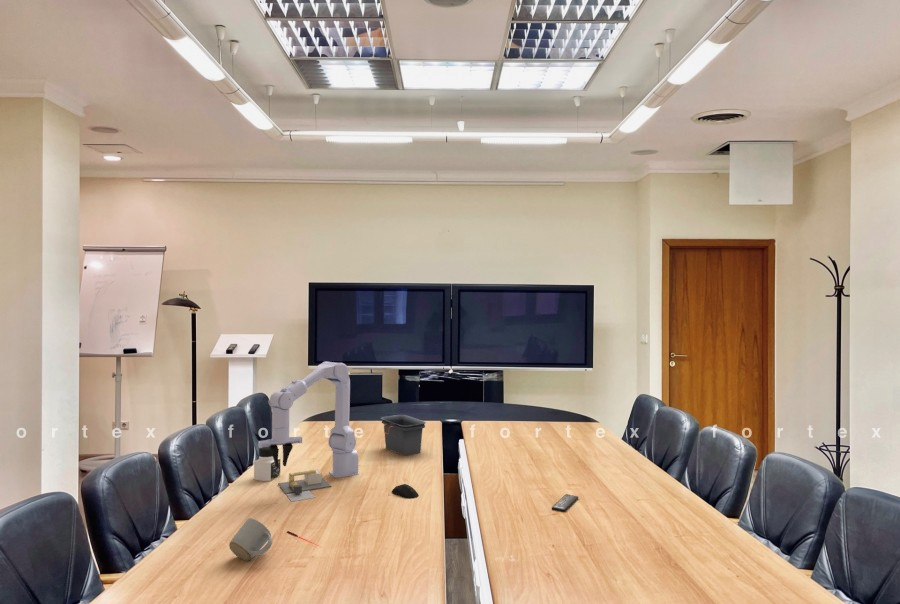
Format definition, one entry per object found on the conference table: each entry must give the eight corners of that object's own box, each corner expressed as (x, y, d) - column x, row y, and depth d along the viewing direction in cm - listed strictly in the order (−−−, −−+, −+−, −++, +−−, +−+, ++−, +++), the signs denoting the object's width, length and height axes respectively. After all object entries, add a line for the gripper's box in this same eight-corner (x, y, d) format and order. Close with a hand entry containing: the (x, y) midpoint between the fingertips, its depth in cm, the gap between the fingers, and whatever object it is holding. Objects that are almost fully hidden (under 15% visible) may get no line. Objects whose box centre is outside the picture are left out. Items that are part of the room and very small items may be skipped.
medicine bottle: (271, 481, 210) (271, 449, 210) (253, 480, 211) (253, 448, 211) (280, 476, 217) (280, 444, 217) (263, 474, 218) (263, 443, 218)
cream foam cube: (317, 479, 211) (317, 469, 211) (321, 482, 206) (321, 473, 206) (304, 481, 208) (304, 471, 208) (307, 484, 204) (308, 475, 204)
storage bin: (429, 454, 249) (429, 421, 249) (399, 460, 239) (399, 426, 239) (402, 444, 266) (402, 414, 266) (373, 449, 256) (374, 418, 256)
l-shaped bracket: (314, 481, 207) (314, 469, 207) (323, 489, 198) (323, 477, 198) (287, 485, 203) (287, 473, 203) (295, 494, 193) (295, 482, 193)
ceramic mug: (241, 564, 147) (221, 543, 146) (263, 538, 153) (244, 518, 152) (259, 562, 140) (238, 540, 139) (281, 535, 146) (261, 513, 145)
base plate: (321, 478, 213) (321, 476, 213) (331, 488, 203) (331, 485, 203) (278, 485, 206) (278, 483, 206) (285, 495, 195) (285, 492, 195)
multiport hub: (578, 503, 190) (578, 496, 190) (564, 517, 178) (564, 509, 178) (565, 500, 192) (565, 493, 192) (551, 514, 180) (551, 507, 180)
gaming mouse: (413, 505, 187) (413, 493, 187) (387, 494, 198) (387, 482, 198) (428, 501, 191) (428, 489, 191) (402, 490, 202) (402, 479, 202)
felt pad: (309, 491, 199) (309, 490, 199) (315, 498, 192) (315, 497, 192) (285, 495, 195) (286, 494, 195) (291, 502, 188) (291, 501, 188)
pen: (286, 533, 164) (286, 529, 164) (327, 552, 152) (327, 547, 152) (283, 534, 163) (283, 530, 163) (325, 553, 151) (325, 548, 151)
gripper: (298, 422, 203) (298, 460, 203) (256, 426, 196) (256, 465, 196) (304, 426, 197) (303, 465, 197) (260, 430, 189) (260, 471, 189)
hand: (280, 466), depth 196 cm, fingers closed
